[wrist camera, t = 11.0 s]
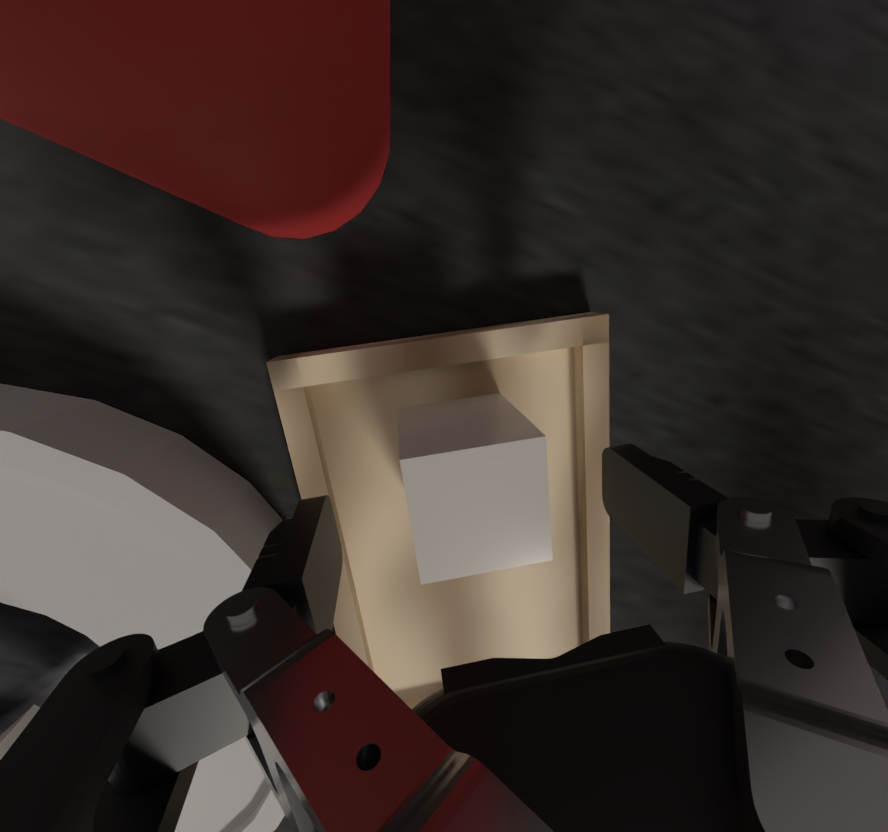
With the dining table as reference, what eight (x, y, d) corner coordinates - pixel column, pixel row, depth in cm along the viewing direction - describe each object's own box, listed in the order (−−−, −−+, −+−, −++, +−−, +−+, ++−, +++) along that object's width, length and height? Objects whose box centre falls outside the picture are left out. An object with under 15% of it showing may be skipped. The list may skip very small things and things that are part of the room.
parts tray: (591, 311, 16) (609, 314, 15) (596, 665, 22) (610, 690, 20) (277, 356, 15) (266, 362, 14) (365, 714, 21) (364, 743, 19)
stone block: (499, 392, 16) (546, 435, 11) (507, 485, 17) (552, 559, 12) (396, 408, 16) (399, 460, 11) (412, 501, 17) (420, 584, 12)
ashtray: (-170, 237, 13) (-402, 215, 9) (429, 562, 19) (439, 629, 15) (-364, 731, 17) (-583, 859, 13) (188, 870, 23) (148, 985, 19)
